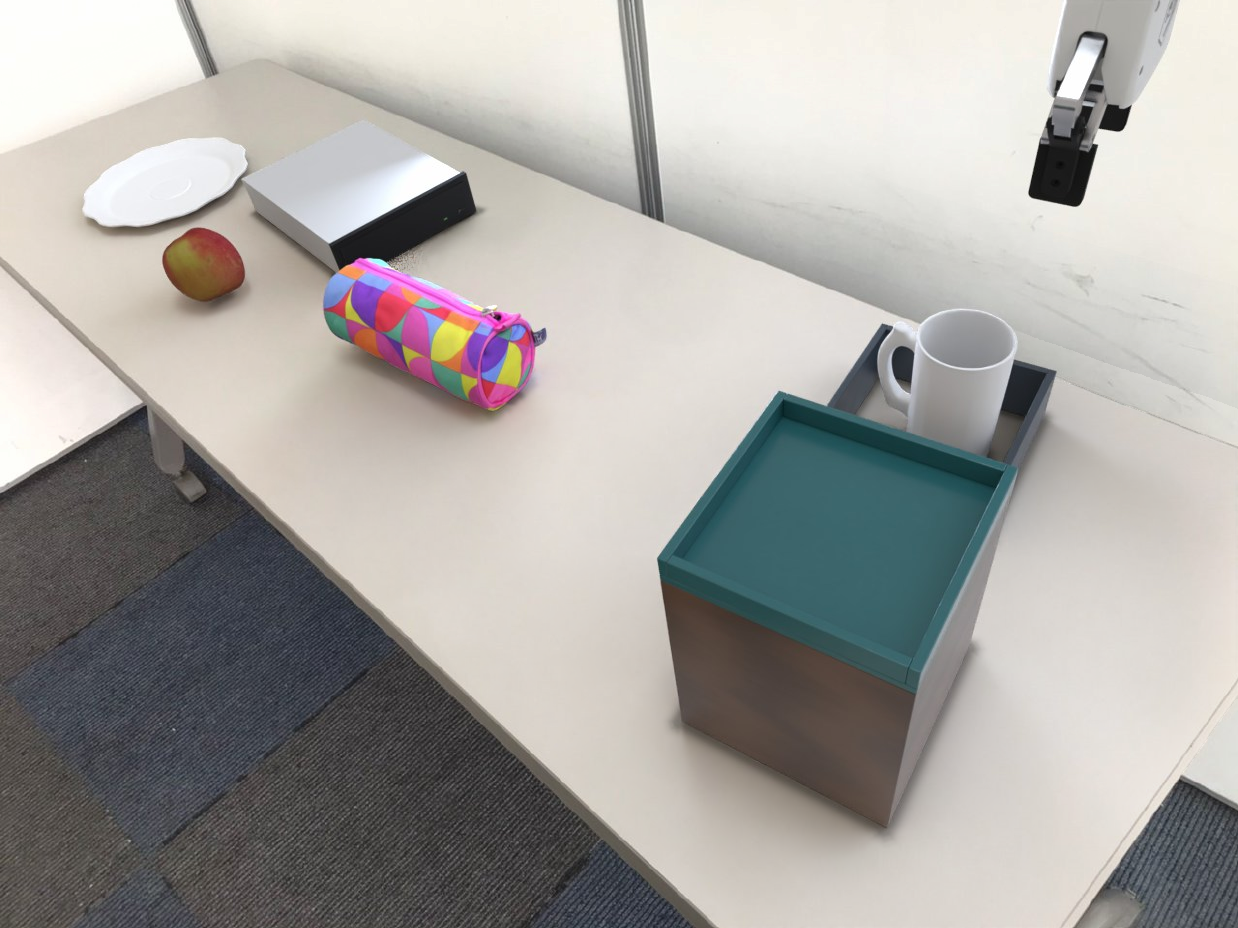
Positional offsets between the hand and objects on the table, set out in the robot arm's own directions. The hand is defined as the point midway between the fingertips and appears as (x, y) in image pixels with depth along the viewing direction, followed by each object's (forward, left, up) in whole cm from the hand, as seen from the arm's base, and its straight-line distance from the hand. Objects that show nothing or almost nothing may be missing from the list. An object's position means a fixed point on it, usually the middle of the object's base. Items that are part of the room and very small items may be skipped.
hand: (1077, 162), depth 62 cm
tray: (+3, +31, -6) cm, 31 cm away
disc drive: (+76, 0, -22) cm, 79 cm away
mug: (+5, +7, -22) cm, 24 cm away
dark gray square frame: (+5, +7, -22) cm, 24 cm away
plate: (+105, +6, -22) cm, 107 cm away
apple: (+80, +19, -22) cm, 85 cm away
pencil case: (+49, +17, -22) cm, 56 cm away
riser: (+3, +31, -22) cm, 38 cm away
